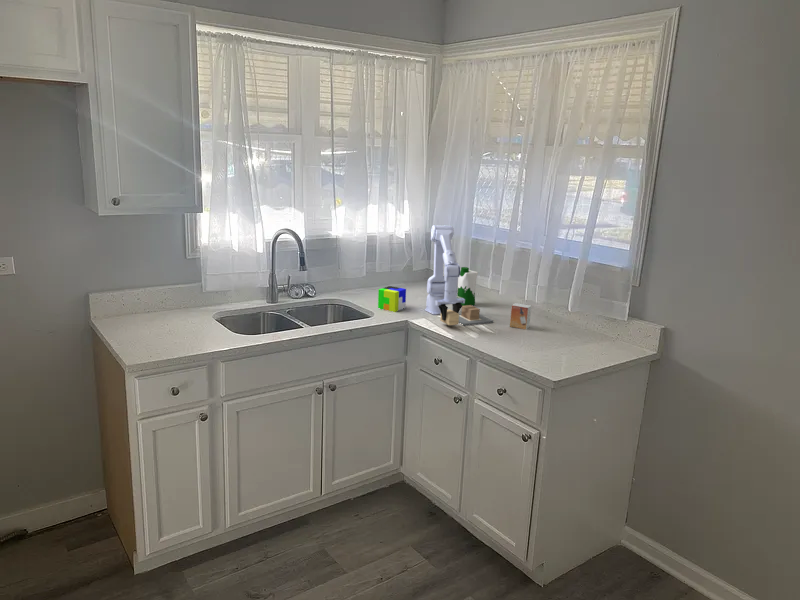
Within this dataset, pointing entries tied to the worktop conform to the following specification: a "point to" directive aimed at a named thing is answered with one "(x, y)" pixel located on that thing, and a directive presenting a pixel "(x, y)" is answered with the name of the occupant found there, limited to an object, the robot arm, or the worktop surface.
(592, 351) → the worktop surface
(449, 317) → the oak block
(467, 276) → the milk carton
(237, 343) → the worktop surface
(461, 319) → the board
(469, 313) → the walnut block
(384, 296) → the puzzle toy
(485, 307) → the worktop surface
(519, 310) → the small box
